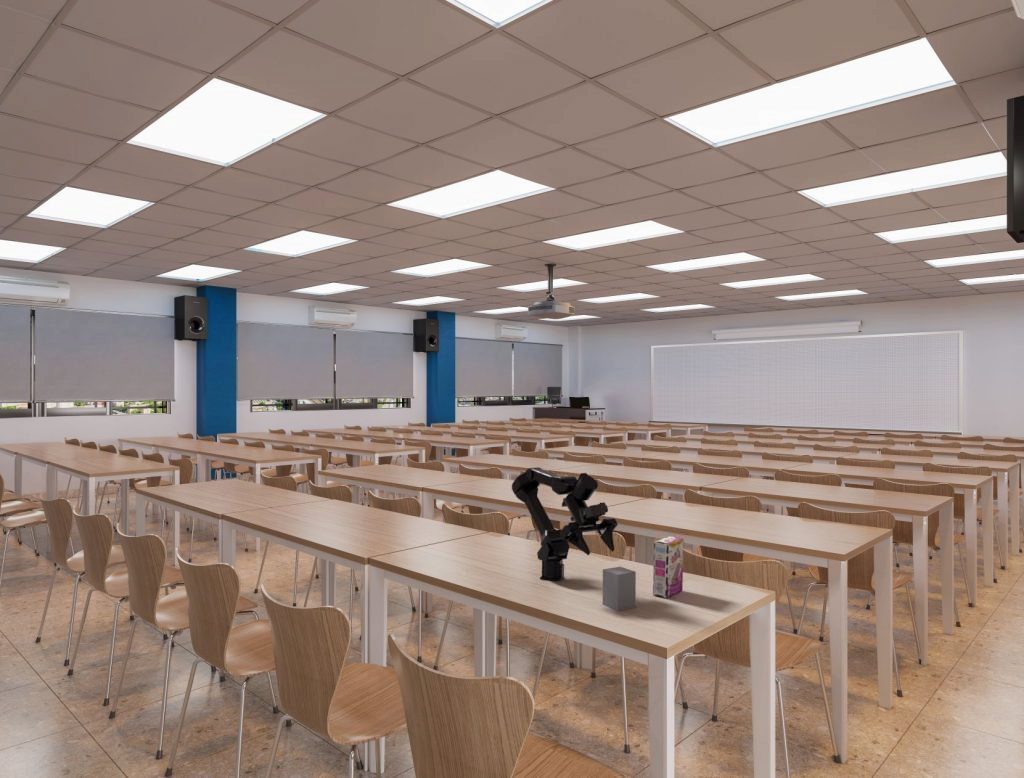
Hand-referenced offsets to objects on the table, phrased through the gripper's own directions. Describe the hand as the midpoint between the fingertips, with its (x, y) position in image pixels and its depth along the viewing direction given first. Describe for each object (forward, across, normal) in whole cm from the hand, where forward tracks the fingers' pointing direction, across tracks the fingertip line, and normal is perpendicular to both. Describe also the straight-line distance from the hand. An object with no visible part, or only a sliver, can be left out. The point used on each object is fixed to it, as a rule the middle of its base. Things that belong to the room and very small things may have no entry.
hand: (601, 552), depth 189 cm
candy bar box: (+14, +21, +5) cm, 26 cm away
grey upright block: (+15, 0, +4) cm, 16 cm away
